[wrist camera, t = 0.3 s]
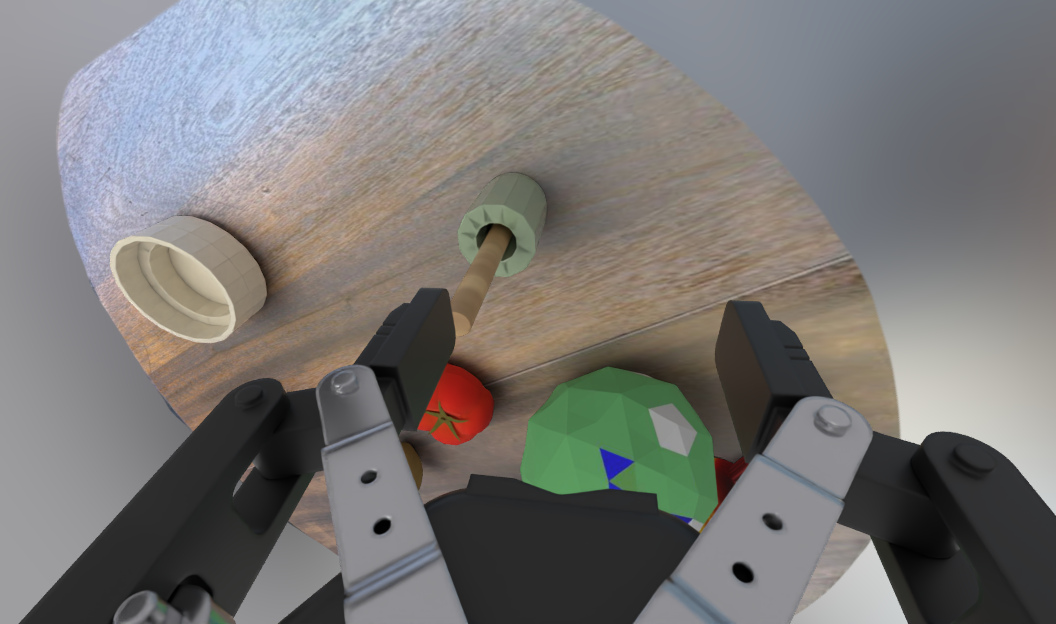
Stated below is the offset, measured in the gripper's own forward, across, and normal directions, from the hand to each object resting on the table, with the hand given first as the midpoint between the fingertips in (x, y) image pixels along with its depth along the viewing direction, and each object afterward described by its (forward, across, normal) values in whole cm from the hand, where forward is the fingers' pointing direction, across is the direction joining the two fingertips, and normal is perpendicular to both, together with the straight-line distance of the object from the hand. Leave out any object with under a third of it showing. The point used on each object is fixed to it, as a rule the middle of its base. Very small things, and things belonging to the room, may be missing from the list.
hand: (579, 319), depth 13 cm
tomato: (+28, +16, +31) cm, 45 cm away
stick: (+27, +7, +7) cm, 29 cm away
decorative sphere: (+28, -4, +31) cm, 42 cm away
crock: (+28, +7, +7) cm, 30 cm away
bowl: (+28, +43, +15) cm, 54 cm away
